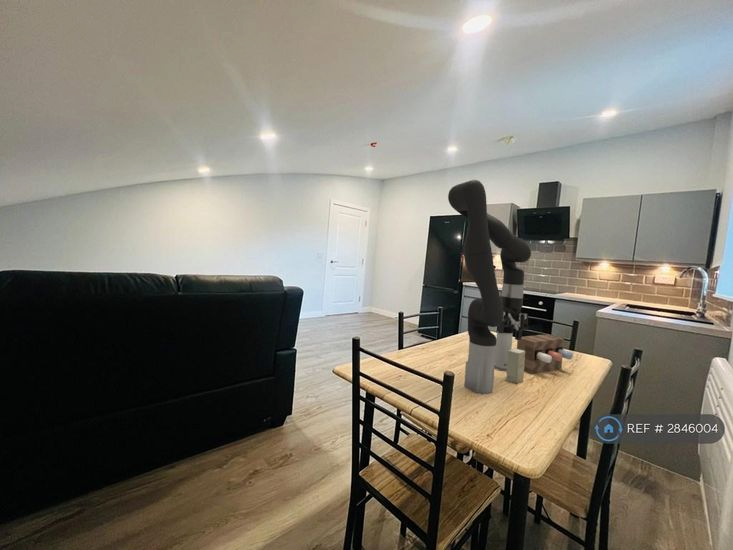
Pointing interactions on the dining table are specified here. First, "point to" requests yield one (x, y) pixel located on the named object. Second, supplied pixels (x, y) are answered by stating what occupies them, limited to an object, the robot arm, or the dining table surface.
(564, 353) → the blue key
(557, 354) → the red key
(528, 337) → the box
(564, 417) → the dining table surface
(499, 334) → the travel mug
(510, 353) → the skincare box
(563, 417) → the dining table surface
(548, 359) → the white key
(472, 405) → the dining table surface
